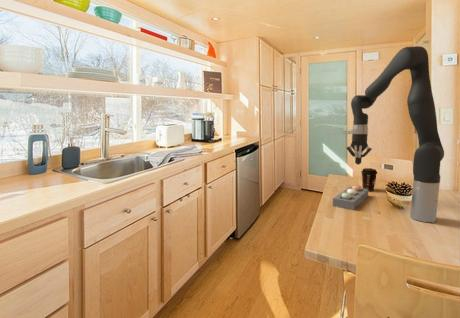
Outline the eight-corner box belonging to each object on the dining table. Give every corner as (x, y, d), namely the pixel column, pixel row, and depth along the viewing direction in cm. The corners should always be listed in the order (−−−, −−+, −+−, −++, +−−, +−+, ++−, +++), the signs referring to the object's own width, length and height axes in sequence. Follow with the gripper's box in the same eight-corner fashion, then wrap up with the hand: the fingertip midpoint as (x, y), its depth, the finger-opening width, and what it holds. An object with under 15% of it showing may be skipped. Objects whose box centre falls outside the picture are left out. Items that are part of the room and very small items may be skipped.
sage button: (352, 198, 137) (352, 193, 136) (349, 200, 133) (349, 195, 133) (343, 197, 140) (343, 192, 139) (340, 199, 136) (340, 194, 136)
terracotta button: (361, 190, 150) (362, 186, 150) (359, 192, 147) (359, 187, 147) (353, 189, 153) (353, 184, 153) (351, 191, 150) (351, 186, 149)
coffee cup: (372, 188, 166) (374, 167, 164) (378, 192, 158) (380, 170, 156) (358, 188, 167) (359, 167, 165) (363, 191, 159) (364, 170, 157)
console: (368, 196, 151) (368, 189, 150) (353, 210, 130) (353, 202, 129) (349, 193, 158) (349, 186, 157) (332, 205, 137) (333, 198, 136)
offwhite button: (357, 194, 144) (357, 189, 143) (354, 196, 140) (355, 191, 140) (348, 193, 146) (348, 188, 146) (346, 194, 143) (346, 190, 143)
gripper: (375, 132, 143) (372, 164, 146) (349, 132, 152) (347, 162, 155) (371, 133, 138) (369, 166, 140) (345, 133, 146) (343, 164, 149)
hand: (358, 164), depth 147 cm, fingers closed
